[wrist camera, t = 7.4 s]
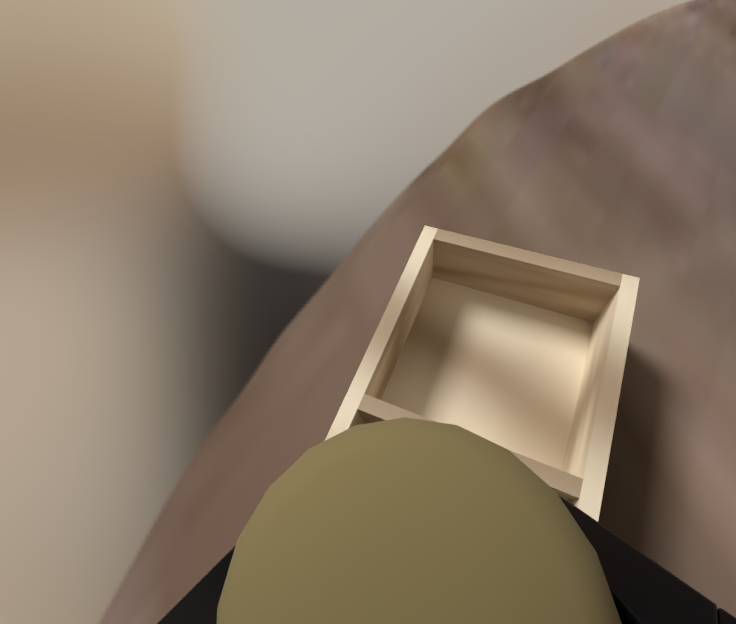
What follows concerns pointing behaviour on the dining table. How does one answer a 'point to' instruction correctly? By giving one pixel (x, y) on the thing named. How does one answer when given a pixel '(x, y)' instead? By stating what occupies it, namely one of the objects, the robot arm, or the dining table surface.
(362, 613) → the cork
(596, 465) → the wooden compartment tray
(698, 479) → the dining table surface
